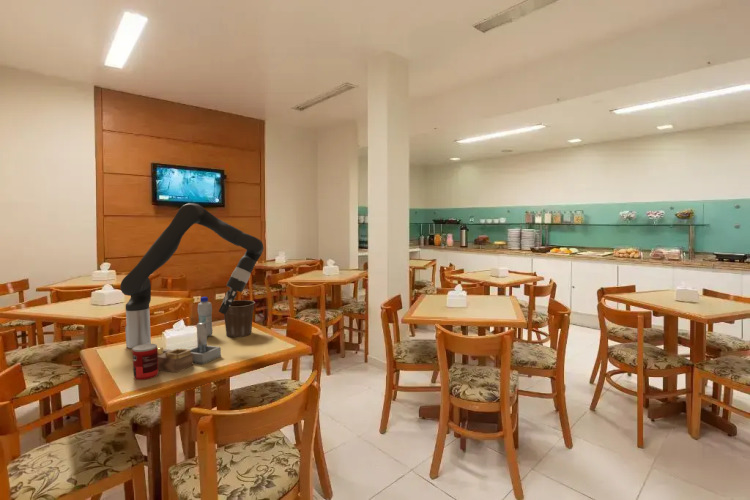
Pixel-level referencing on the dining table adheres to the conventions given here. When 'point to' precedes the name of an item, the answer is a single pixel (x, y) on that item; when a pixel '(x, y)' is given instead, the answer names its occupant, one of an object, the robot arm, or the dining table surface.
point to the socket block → (175, 360)
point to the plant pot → (239, 318)
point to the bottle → (205, 314)
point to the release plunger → (160, 350)
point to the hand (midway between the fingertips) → (221, 313)
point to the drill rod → (201, 338)
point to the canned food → (145, 361)
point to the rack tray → (206, 354)
